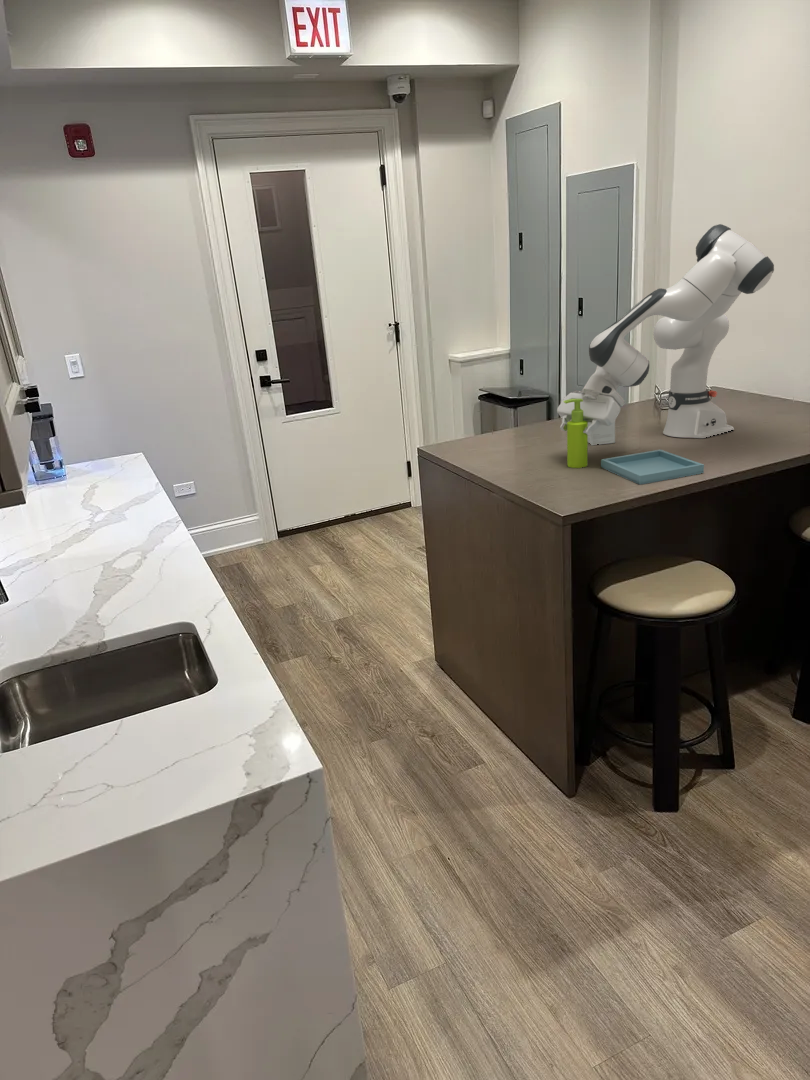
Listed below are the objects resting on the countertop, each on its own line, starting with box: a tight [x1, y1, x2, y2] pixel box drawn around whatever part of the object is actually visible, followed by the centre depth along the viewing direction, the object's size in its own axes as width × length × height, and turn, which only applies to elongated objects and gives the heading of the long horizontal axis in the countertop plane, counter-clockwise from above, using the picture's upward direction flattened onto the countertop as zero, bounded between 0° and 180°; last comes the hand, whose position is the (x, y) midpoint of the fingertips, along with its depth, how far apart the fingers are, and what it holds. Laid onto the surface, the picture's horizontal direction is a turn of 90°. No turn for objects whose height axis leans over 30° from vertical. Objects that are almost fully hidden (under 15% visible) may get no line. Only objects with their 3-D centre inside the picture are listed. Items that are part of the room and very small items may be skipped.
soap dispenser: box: [562, 399, 589, 469], centre depth 217 cm, size 6×7×20 cm
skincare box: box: [588, 420, 616, 446], centre depth 241 cm, size 8×6×15 cm
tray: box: [600, 449, 705, 485], centre depth 209 cm, size 20×20×2 cm
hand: (574, 431), depth 216 cm, fingers open, 8 cm apart
